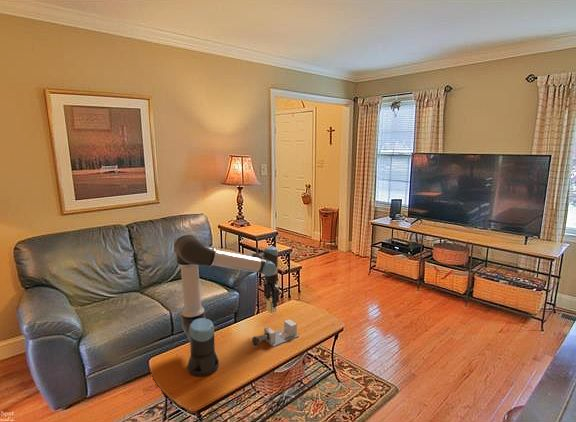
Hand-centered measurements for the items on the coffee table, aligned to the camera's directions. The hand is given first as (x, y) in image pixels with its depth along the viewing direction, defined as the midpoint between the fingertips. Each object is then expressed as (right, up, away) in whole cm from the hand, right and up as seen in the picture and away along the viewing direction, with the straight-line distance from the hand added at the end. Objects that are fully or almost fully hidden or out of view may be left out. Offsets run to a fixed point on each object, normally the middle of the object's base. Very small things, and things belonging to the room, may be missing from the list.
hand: (271, 310), depth 203 cm
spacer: (0, 0, 0) cm, 0 cm away
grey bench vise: (+6, -14, -6) cm, 16 cm away
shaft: (-4, -14, -13) cm, 19 cm away
